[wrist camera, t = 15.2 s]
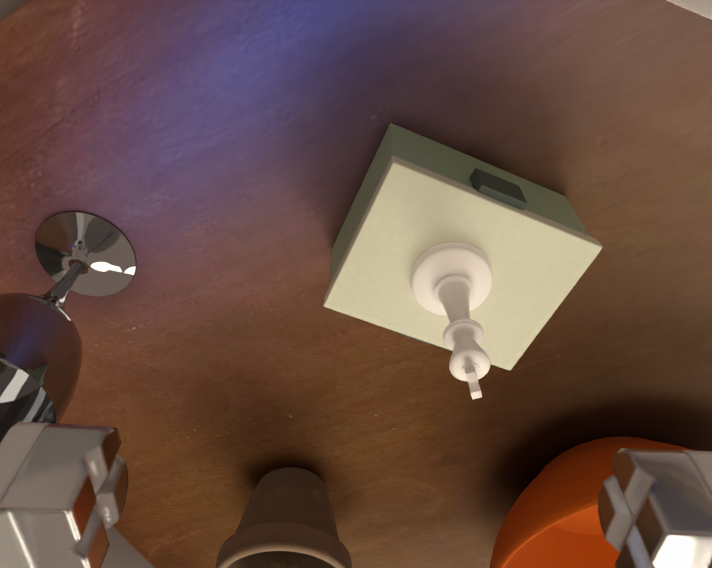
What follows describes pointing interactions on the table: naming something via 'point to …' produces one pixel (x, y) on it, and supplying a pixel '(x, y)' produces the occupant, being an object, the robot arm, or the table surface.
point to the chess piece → (456, 303)
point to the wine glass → (56, 316)
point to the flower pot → (286, 526)
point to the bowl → (565, 511)
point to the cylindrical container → (696, 6)
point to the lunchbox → (455, 224)
